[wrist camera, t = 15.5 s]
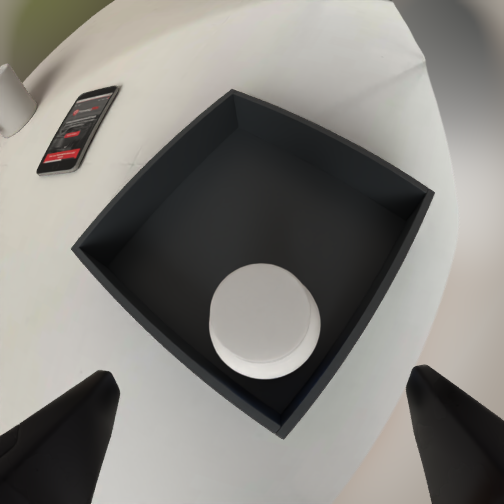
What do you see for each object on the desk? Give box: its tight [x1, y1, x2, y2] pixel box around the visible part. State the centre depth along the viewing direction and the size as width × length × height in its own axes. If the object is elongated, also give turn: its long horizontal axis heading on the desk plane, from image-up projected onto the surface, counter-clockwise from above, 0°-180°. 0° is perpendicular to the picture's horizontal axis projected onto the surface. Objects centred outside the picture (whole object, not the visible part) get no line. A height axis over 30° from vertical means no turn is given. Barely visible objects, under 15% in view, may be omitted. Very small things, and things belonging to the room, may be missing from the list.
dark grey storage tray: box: [71, 89, 435, 439], centre depth 21 cm, size 19×19×5 cm
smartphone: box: [36, 86, 119, 176], centre depth 32 cm, size 7×1×15 cm
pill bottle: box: [209, 263, 320, 379], centre depth 16 cm, size 6×5×10 cm
